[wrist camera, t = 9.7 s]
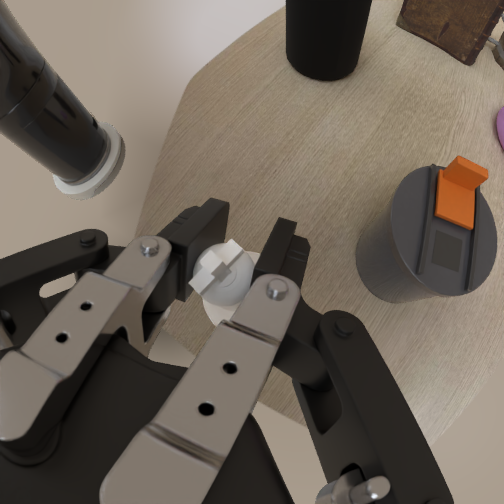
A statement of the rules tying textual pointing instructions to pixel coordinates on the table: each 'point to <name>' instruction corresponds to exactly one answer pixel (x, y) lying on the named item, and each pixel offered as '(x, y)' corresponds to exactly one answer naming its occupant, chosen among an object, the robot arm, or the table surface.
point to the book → (452, 24)
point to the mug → (499, 48)
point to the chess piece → (223, 278)
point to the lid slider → (458, 191)
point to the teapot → (501, 126)
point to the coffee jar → (325, 36)
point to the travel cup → (424, 245)
